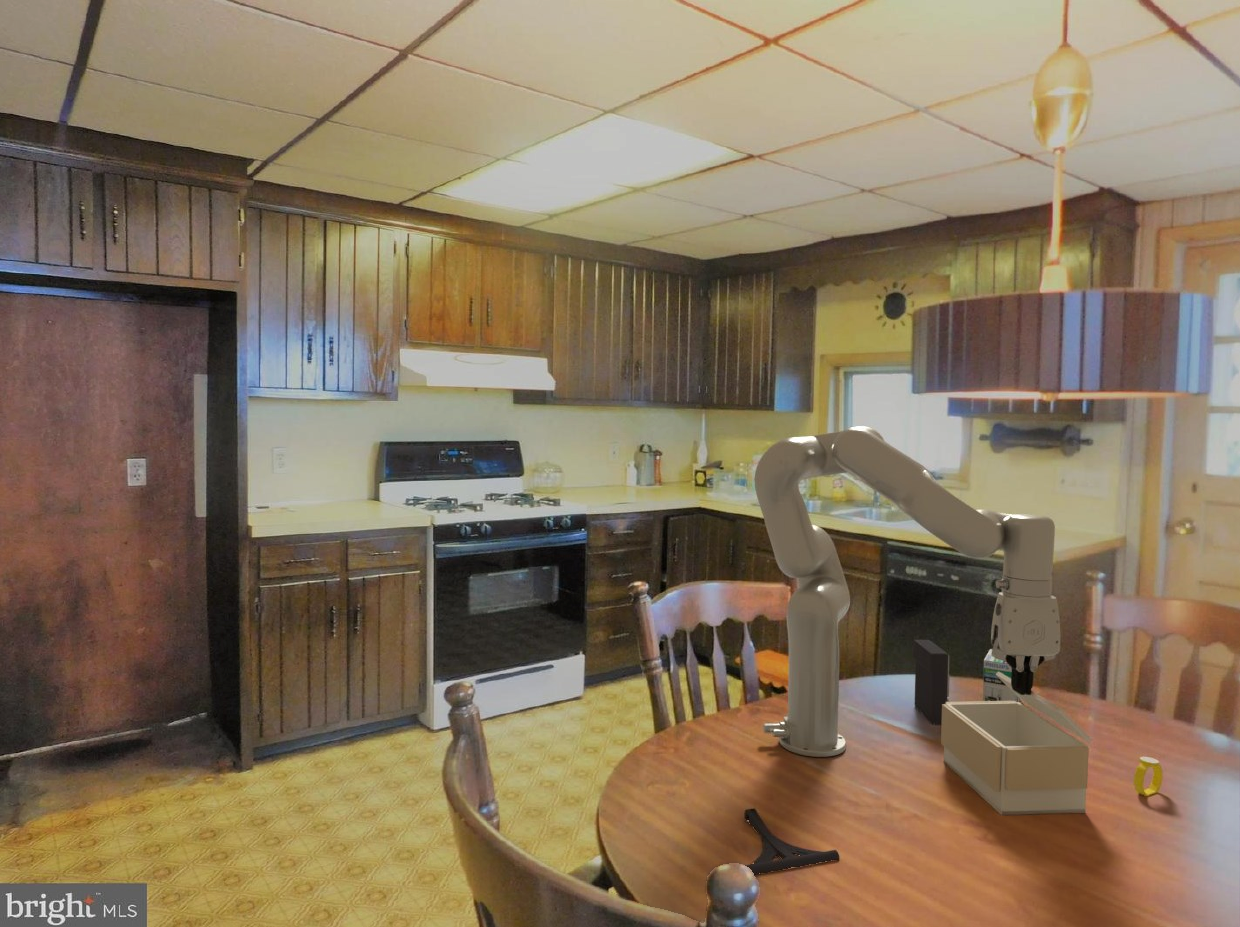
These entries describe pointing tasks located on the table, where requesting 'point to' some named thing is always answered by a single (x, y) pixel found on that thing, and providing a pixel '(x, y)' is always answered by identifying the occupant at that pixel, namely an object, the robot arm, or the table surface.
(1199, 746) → the table surface
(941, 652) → the black rectangular block
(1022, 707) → the carton
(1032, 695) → the carton flap
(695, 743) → the table surface
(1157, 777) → the watch
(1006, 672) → the light bulb box
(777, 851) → the black squeegee
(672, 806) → the table surface
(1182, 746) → the table surface
